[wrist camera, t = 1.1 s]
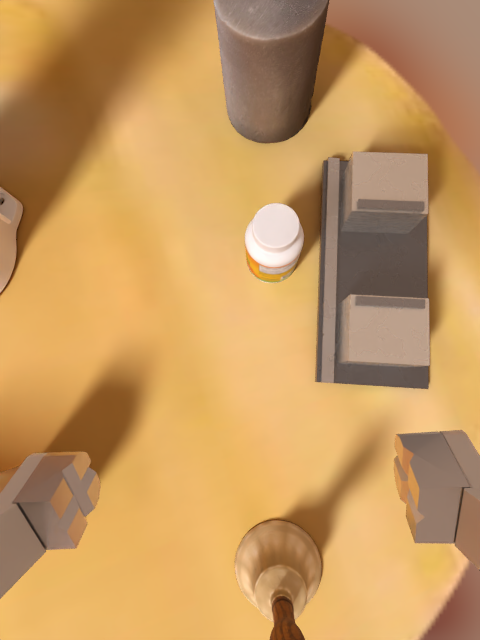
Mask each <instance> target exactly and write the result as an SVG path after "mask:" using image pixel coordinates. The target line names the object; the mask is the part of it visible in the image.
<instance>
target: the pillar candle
mask: <svg viewBox="0 0 480 640" xmlns="http://www.w3.org/2000/svg"><path fill="white" fill-rule="evenodd" d="M328 4H329V0H214V6H215V15H216V22H217V30H218V39H219V46H220V56H221V64H222V73H223V82H224V88H225V97H226V105H227V112H228V116H229V119H230V121H231V124H232V125H233V126H234V128H235V129H236V130H237V132H238V133H240V134H241V135H242V136H244V137H245V138H247V139H249V140H252V141H255V142H259V143H276V142H281V141H285V140H287V139H289V138H291V137H293V136H294V135H295V134H297V133H298V132H299V130H301V129H302V128H303V126H304V125H305V123H306V122H307V119H308V117H309V114H310V110H311V98H312V96H313V90H314V83H315V78H316V71H317V65H318V61H319V55H320V50H321V44H322V39H323V34H324V28H325V22H326V16H327V9H328Z"/></svg>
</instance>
